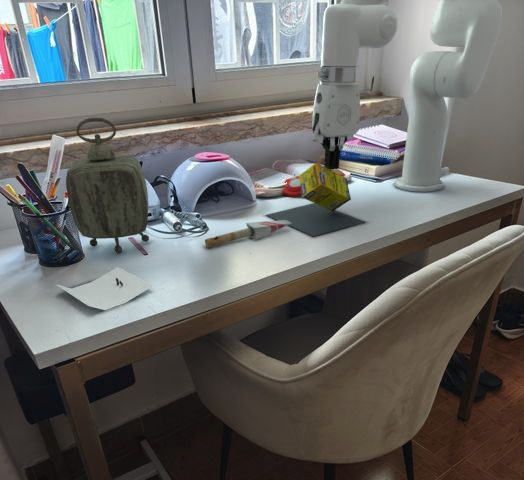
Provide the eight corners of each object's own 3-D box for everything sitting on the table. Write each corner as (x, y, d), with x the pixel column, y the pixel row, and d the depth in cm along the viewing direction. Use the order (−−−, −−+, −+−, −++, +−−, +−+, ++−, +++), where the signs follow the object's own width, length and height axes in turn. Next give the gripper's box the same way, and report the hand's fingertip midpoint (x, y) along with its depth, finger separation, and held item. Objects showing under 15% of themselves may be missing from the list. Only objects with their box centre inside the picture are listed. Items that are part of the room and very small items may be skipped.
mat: (315, 203, 125) (315, 202, 125) (365, 222, 113) (365, 221, 113) (266, 215, 119) (266, 214, 118) (313, 237, 106) (313, 236, 106)
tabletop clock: (154, 238, 108) (135, 112, 94) (154, 254, 100) (133, 119, 87) (86, 244, 106) (56, 116, 92) (80, 261, 99) (47, 124, 85)
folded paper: (154, 291, 86) (152, 281, 85) (90, 316, 79) (88, 305, 78) (118, 272, 94) (116, 262, 93) (57, 293, 87) (54, 283, 86)
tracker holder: (284, 194, 129) (276, 176, 135) (287, 209, 132) (280, 190, 139) (329, 180, 128) (319, 162, 135) (331, 195, 132) (321, 177, 138)
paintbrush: (293, 217, 107) (209, 240, 100) (294, 229, 109) (211, 252, 102) (284, 212, 110) (201, 234, 103) (284, 224, 112) (203, 246, 104)
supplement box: (352, 199, 115) (321, 184, 108) (332, 212, 119) (301, 198, 112) (347, 177, 117) (316, 161, 109) (328, 191, 121) (297, 176, 113)
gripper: (321, 78, 97) (315, 175, 107) (377, 76, 104) (367, 167, 114) (298, 76, 102) (294, 169, 112) (352, 74, 109) (345, 162, 119)
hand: (331, 168), depth 113 cm, fingers closed
